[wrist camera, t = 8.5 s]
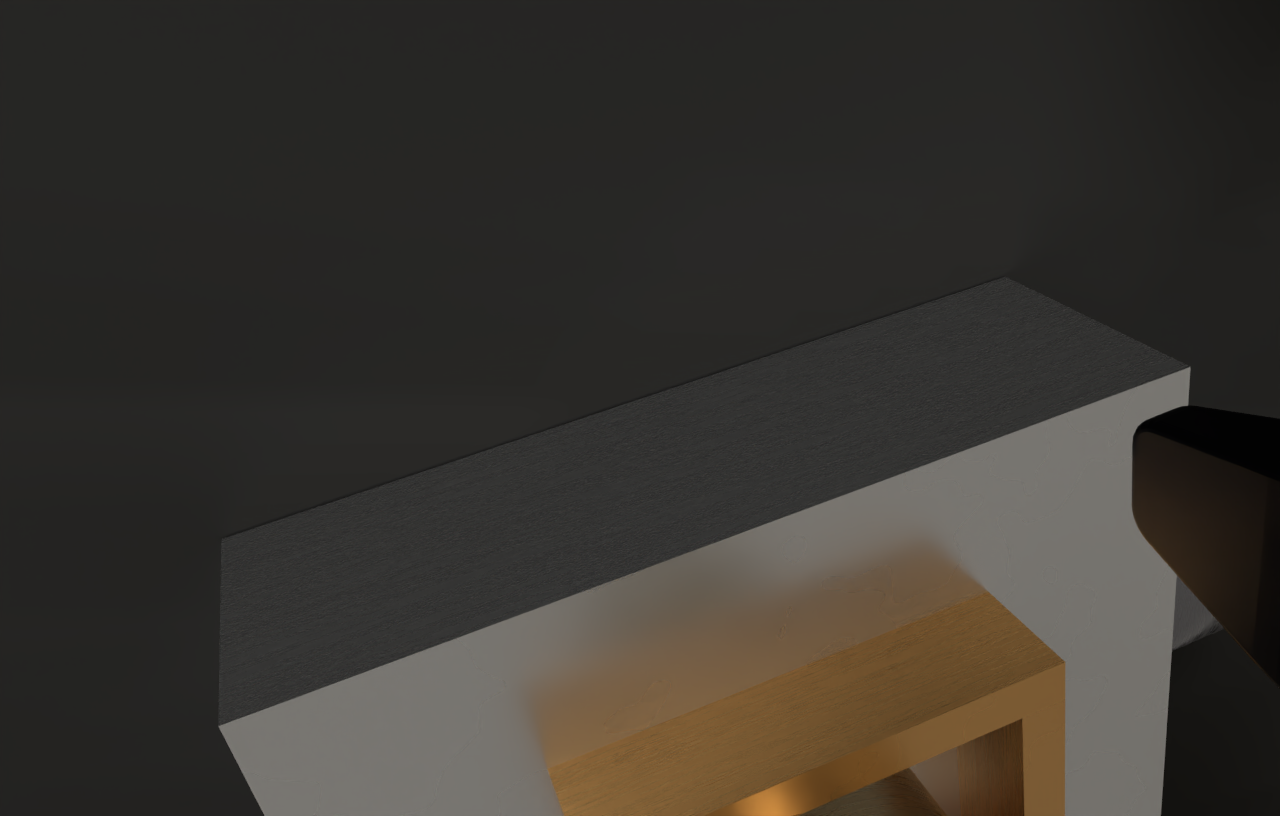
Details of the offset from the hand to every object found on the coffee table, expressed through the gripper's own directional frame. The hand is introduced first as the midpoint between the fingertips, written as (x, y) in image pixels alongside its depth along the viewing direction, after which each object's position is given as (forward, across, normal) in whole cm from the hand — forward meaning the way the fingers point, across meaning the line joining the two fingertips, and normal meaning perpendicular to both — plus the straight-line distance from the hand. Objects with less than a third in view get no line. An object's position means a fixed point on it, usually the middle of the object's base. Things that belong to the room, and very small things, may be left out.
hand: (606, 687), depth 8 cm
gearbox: (+12, -5, +12) cm, 17 cm away
